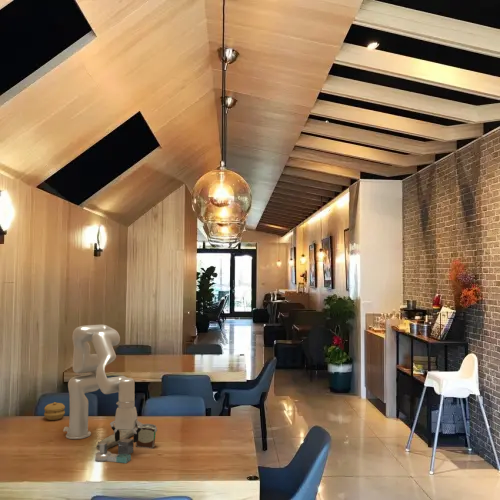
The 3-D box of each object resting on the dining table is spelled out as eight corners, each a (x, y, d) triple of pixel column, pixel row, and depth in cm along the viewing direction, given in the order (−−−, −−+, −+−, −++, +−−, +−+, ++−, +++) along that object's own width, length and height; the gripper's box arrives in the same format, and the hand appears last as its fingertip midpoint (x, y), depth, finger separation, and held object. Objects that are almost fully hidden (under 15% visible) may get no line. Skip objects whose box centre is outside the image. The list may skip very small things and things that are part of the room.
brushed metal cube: (118, 454, 240) (118, 441, 241) (123, 451, 245) (123, 438, 246) (127, 455, 239) (128, 442, 239) (133, 451, 244) (133, 439, 244)
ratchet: (92, 461, 232) (92, 445, 232) (100, 455, 238) (100, 440, 239) (124, 464, 227) (124, 448, 228) (132, 459, 234) (132, 443, 235)
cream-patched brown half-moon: (161, 445, 254) (161, 424, 255) (155, 448, 248) (155, 428, 249) (140, 442, 258) (140, 422, 259) (133, 446, 252) (133, 425, 253)
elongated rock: (90, 452, 248) (108, 455, 245) (90, 441, 248) (108, 444, 245) (126, 428, 282) (143, 431, 279) (127, 419, 282) (143, 421, 279)
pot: (49, 416, 309) (50, 399, 310) (68, 416, 308) (68, 400, 309) (40, 421, 297) (40, 404, 298) (59, 422, 296) (59, 404, 297)
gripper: (106, 405, 242) (106, 442, 241) (139, 407, 238) (139, 444, 236) (114, 402, 249) (114, 437, 248) (146, 403, 245) (146, 440, 243)
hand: (126, 441), depth 242 cm, fingers open, 9 cm apart
